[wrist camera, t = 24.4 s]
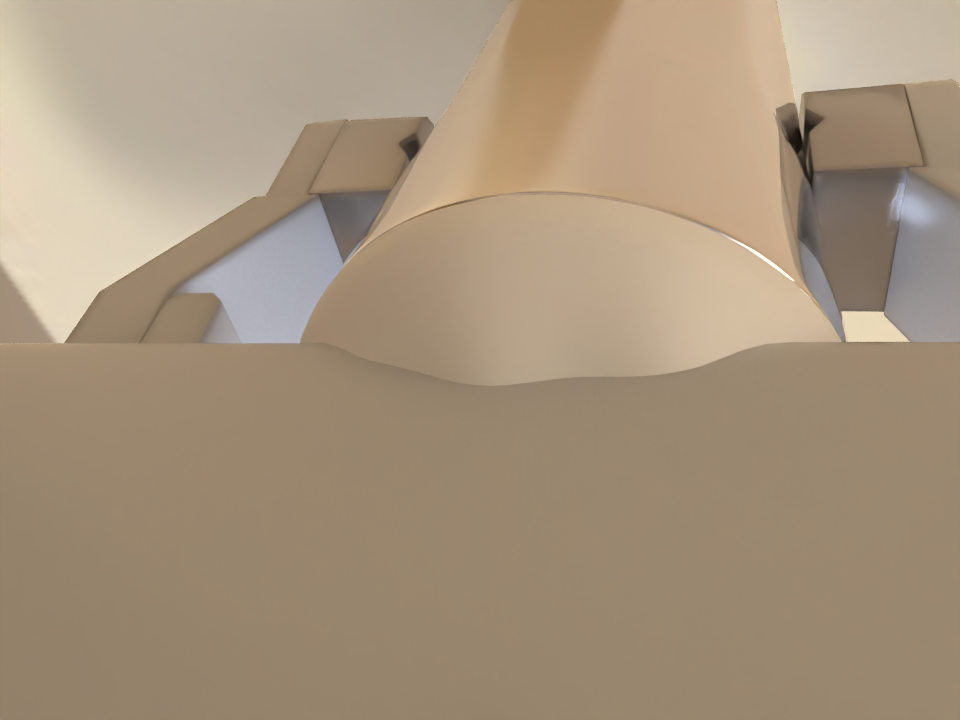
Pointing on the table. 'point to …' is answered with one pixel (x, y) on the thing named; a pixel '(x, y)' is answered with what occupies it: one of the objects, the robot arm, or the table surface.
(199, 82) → the table surface
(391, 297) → the milkshake
